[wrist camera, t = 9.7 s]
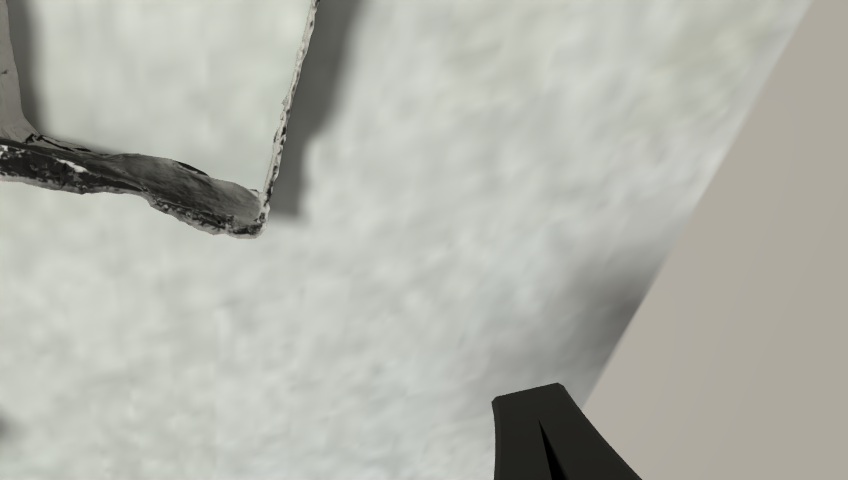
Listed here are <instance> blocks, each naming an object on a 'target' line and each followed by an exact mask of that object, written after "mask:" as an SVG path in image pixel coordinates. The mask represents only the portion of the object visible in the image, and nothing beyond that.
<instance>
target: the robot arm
mask: <svg viewBox="0 0 848 480" xmlns="http://www.w3.org/2000/svg"><path fill="white" fill-rule="evenodd" d="M491 403H492V408H493V413H494V421H495V470H494V480H642V479H641V478H640V477H639V476H638V475H637V474H636V473H635V472H634V471H633V470H632V469H631V468H630V467H629V466H628V465H627V464H626V462H625V461H624V460H623V459H622V458H621V457H620V456H619V455H618V454H617V453H616V452H615V450H614V449H613V448H612V447H611V446H610V445H609V444H608V443H607V442H606V441H605V440H604V438H603V437H602V436H601V435H600V434H599V432H598V431H597V430H596V429H595V428H594V426H593V425H592V424H591V423H590V421H589V420H588V419H587V418H586V417H585V415H584V414H583V413H582V411H581V410H580V409H579V407H578V406H577V405H576V403H575V402H574V401H573V399H572V398H571V396H570V395H569V394H568V392H567V391H566V389H565V387H564V386H563V385H561V384H559V383H554V384H549V385H545V386H541V387H536V388H532V389H528V390H523V391H519V392H515V393H510V394H506V395H502V396H497V397H496V398H495V399H494V400H493V401H492V402H491Z"/></svg>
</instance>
